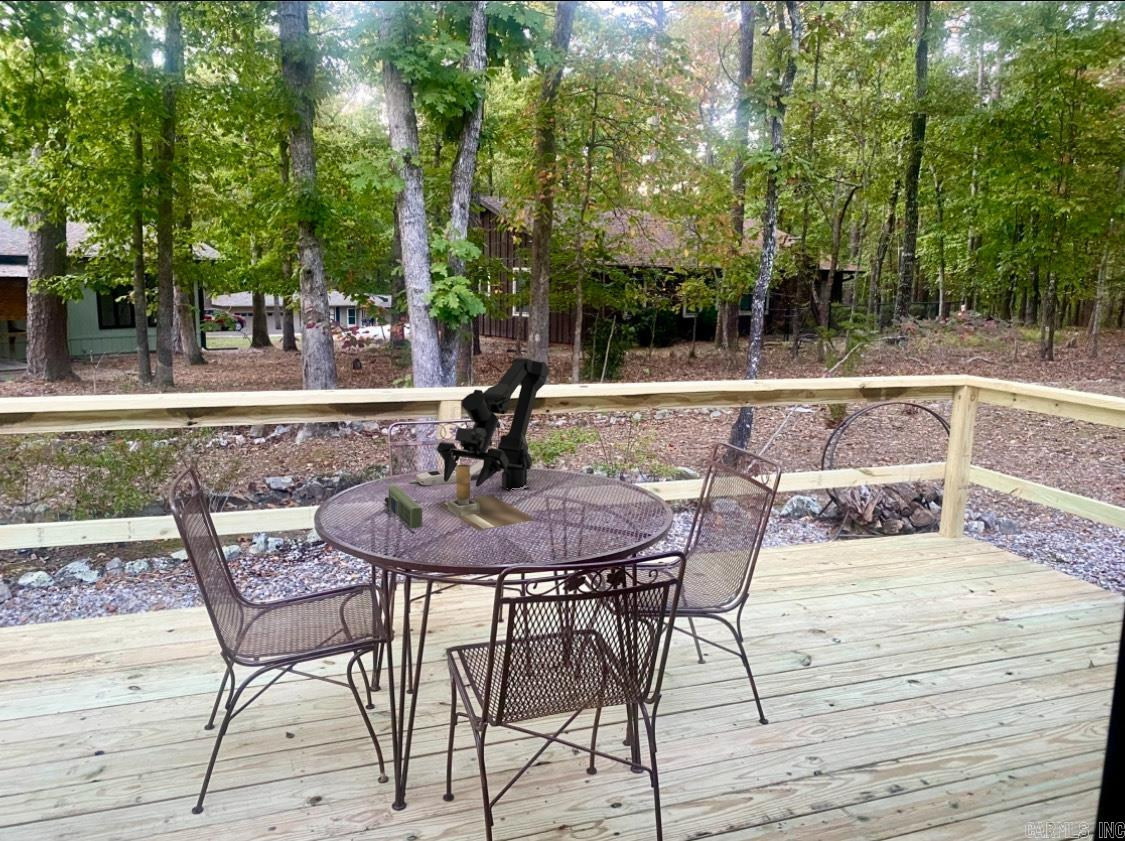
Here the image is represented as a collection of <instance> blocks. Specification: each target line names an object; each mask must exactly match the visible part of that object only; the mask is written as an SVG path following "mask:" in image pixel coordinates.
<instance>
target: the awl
mask: <svg viewBox="0 0 1125 841" xmlns="http://www.w3.org/2000/svg"><path fill="white" fill-rule="evenodd" d="M470 467H471V465H469V464H463V463H461V464H457V466H456V468H455V470H456V483H455V484H456V498H457V499H458V506H463V505H469V498H471V480H470Z"/></svg>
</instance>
